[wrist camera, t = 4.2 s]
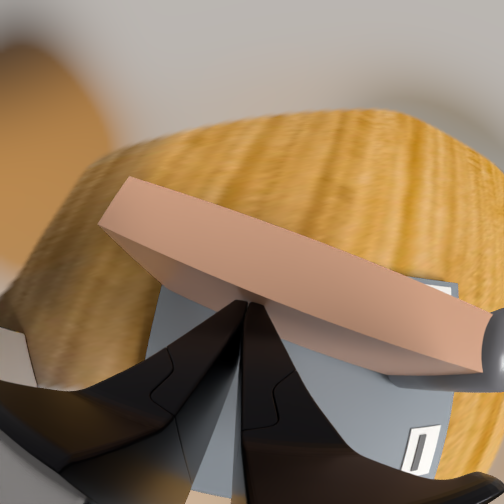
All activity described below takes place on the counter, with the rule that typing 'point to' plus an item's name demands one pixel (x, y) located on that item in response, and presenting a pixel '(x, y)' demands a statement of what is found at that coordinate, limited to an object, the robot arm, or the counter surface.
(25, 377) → the medicine bottle
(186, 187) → the counter surface
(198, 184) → the counter surface
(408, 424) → the label board
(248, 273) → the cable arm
